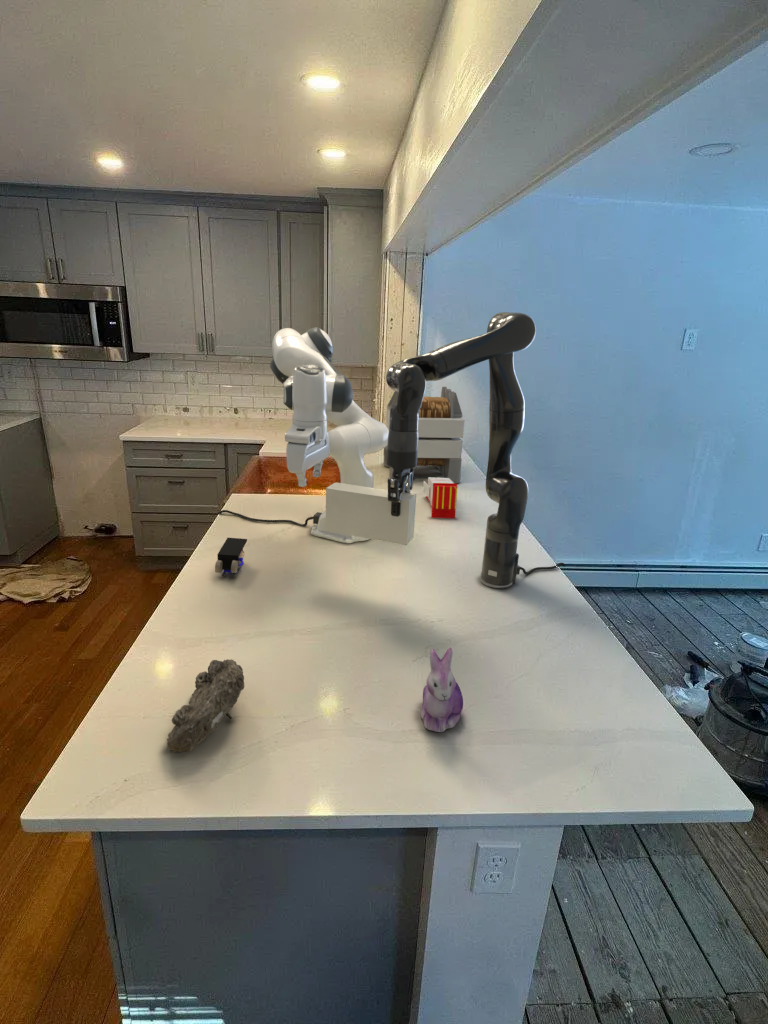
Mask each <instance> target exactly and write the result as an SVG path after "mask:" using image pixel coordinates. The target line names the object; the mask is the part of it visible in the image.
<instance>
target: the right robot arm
mask: <svg viewBox="0 0 768 1024" xmlns="http://www.w3.org/2000/svg"><path fill="white" fill-rule="evenodd" d="M536 333H537V327H536V323H535V321H534V319H533V318H532V317H531V316H530V315H528V314H526V313H522V312H511V311H510V312H509V311H508V312H507V311H501V312H497V313H495V314H493V316H492V317H490V320H489V322H488V324H487V327H486V332H485V333H482V334H479V335H476V336H472V337H468V338H465V339H460V340H455V341H453V342H449V343H446V344H445V345H442V346H440V347H438V348H435V349H433V350H430V351H429V352H427V353H424V354H420V355H416V356H415V355H414V356H412V357H408V358H405V359H401V360H400V361H397V362H395V363H393V364H392V365H391V366H390V367H389V368H388V370H387V372H386V375H385V382H386V384H387V386H388V388H390V389H391V390H392V391H394V392H395V391H396V392H399V394H398V400H397V404H394V405H393V406H392V407H391V409H390V418H389V433H388V443H387V465H388V466H389V467H388V468H390V467H391V468H393V470H394V471H393V474H392V476H391V479H390V478H389V477H388V479H387V490H388V501H392V502H391V515H392V516H397V517H398V516H400V508H401V498H402V494H404V492H405V493H411V491H412V490H413V484H414V476H415V475H414V473H415V468H416V467H417V457H418V420H419V410H420V407H421V404H422V401H423V397H425V394H426V388H427V382H436V381H440V380H443V379H445V378H447V377H450V376H452V375H454V374H456V373H458V372H461V371H463V370H465V369H468V368H469V367H472V366H474V365H478V364H480V363H482V362H485V361H488V370H489V403H488V404H489V407H488V421H489V422H488V427H489V431H488V432H489V435H488V439H489V440H488V457H487V458H488V459H487V467H486V475H485V476H486V477H485V492H486V495H487V497H488V498H489V499H490V500H492V501H493V502H495V503H497V504H498V507H497V513H492V514H490V515H488V517H487V519H486V528H485V536H484V537H485V538H484V546H483V555H482V563H481V573H480V582H481V583H482V584H483V585H485V586H486V587H488V588H493V589H508V588H510V587H512V585H515V584H516V579H517V576H519V575H520V572H523V574H524V575H527V576H528V575H531V573H533V572H535V571H539V570H554V569H557V568H558V567H560V566H563V567H566V566H567V565H566V564H565V563H564V562H559V563H557V564H555V565H556V566H557V567H556V566H555V565H552V566H538V567H534V568H531V569H530V570H528V571H527V570H526V569H525V568H524V567H522V566H520V565H519V559H520V554H519V553H518V552H517V550H518V544H519V543H518V542H519V534H520V527H521V525H522V522H523V521H524V519H525V514H526V508H527V504H528V498H529V484H528V482H527V480H526V479H525V478H524V477H522V476H520V475H517V474H515V473H513V471H512V456H513V455H512V454H513V450H514V448H515V445H516V444H517V442H518V440H519V438H520V436H521V435H522V432H523V431H524V427H525V426H524V425H525V411H526V409H525V408H526V405H525V404H526V403H525V402H526V401H525V397H524V393H523V391H522V388H521V385H520V383H519V380H518V378H517V375H516V371H515V365H514V355H515V354H514V353H516V352H521V351H523V350H526V349H527V348H528V347H530V345H531V344H532V343H533V341H534V340H535V338H536ZM394 494H395V496H396V497H394Z"/></svg>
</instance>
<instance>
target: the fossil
mask: <svg viewBox="0 0 768 1024" xmlns="http://www.w3.org/2000/svg"><path fill="white" fill-rule="evenodd" d="M243 670H244V669H243V667H242V665H240V664H237V662H236V661H235V660H234V659H232V658H231V659H227V658H226V659H224V660H223V661H222V660H217V659H212V660H211V661H210V663H209V665H208V666H207V671H201V672H199V673H198V674H197V675H196V676H195V680H194V684H195V685H194V687H195V689H194V690H193V693H192V694H191V697H190V698H189V700H188V704H184V705H182V706H181V707H180V709H177V710H176V711H175V713H174V715H173V716H172V718H171V723H172V724H173V727H172V730H171V731H170V732H168V734H167V738H166V741H167V742H166V745H167V749H168V750H169V751H173V752H174V753H176V754H178V753H182V752H188V751H189V752H192V751H193V750H195V748H196V747H197V746H199V744H200V743H201V742H203V741H204V740H205V739H206V738H207V737H208V736H209V735H210V734H211V733H212V732H214V730H215V729H217V727H218V726H219V724H220V722H221V721H222V720H223V719H224V718H225V716H226V717H227V719H229V720H233V717H232V715H230V714H229V710H230V709H231V708H234V706H235V704H236V703H237V702H238V699H239V697H240V695H241V693H242V691H243V690H245V689H244V688H245V675H244V671H243Z"/></svg>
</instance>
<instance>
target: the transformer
mask: <svg viewBox="0 0 768 1024" xmlns="http://www.w3.org/2000/svg"><path fill="white" fill-rule="evenodd" d="M440 393H441V394H440V396H424V397H423V401H422V404H421V407H420V410H419V420H418V457H417V466H418V467H436V468H437V470H438V469H439V473H440V474H441V475H443V478H449V479H450V480H451V481H452V482H453V483H454V484H459V483H461V472H462V461H463V460H462V453H463V442H464V441H463V440H462V439H463V438H464V431H465V430H464V429H465V419H464V418H463V411H462V408H461V405H460V402H459V398H458V395H457V392H455V391H453V390H452V389H451V388H447V386H442V387H441V392H440ZM398 394H399V392H396V391H394V392H393V394H392V395H391V398H390V400H389V402H388V404H387V405H386V413H385V414H386V415H385V423H386V426H387V428H388V430H389V418H390V409H391V407H392V406H393V405H394V404H397V400H398ZM383 466H384V467H388V468H389V475H388V476H389V477H388V479H389V478H390V479H391V476H392V474H393V471H394V470H393V468H391V467H389V466H388V465H387V446H386V447H385V448H383ZM417 466H416V467H417Z"/></svg>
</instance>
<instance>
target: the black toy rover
mask: <svg viewBox="0 0 768 1024" xmlns="http://www.w3.org/2000/svg"><path fill="white" fill-rule="evenodd" d="M247 542H248V538H240V537H226V539H225V541H224V543H223V544H222V546H221V547H220V549H219V551H218V552H217V560H216V562H215V564H214V572H215V573H221V577H222V578H224V577H225V576H226V574H227V573H230V574H231V573H232V574H231V578H234V577H235V575H236V573H237V572H239V571H240V567H242V566H243V565H244V564H245V562H244V558H245V551H244V547H245V546H246V544H247Z"/></svg>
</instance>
